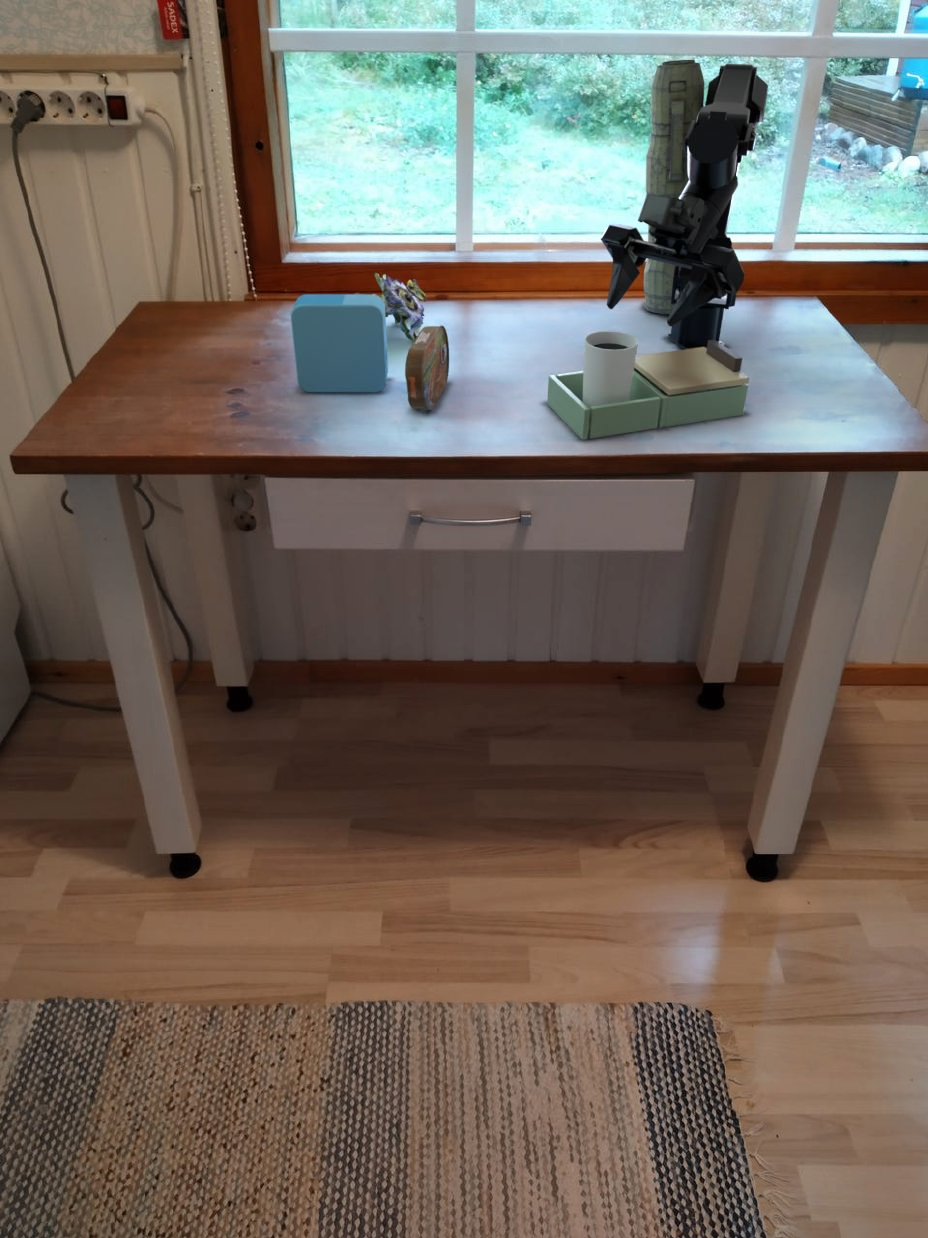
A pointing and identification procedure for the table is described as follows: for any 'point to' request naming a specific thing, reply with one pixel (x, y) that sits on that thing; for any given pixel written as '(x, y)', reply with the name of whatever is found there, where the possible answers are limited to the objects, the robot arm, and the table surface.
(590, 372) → the white cup
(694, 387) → the sliding lid
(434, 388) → the tin
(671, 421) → the storage box
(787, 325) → the table surface
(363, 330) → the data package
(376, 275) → the passion flower
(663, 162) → the thermos
